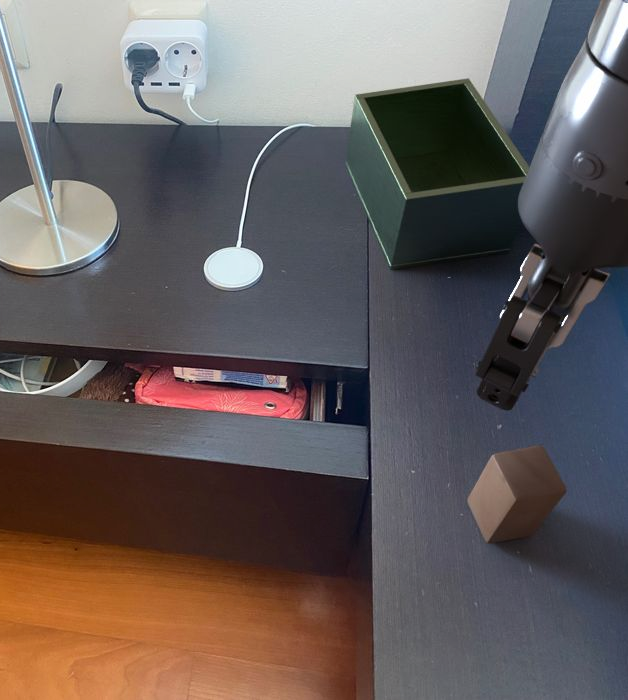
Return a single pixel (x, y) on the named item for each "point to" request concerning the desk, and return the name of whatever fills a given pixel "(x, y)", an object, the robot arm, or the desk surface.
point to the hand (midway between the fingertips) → (524, 355)
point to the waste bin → (434, 173)
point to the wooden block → (515, 494)
